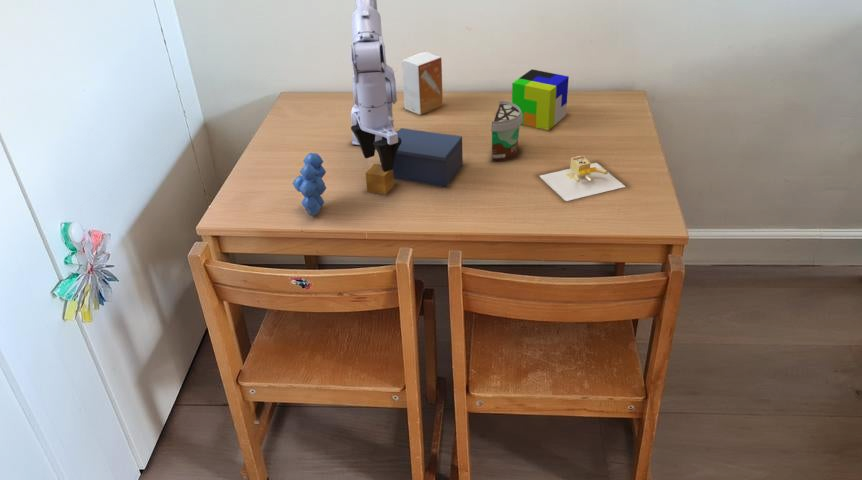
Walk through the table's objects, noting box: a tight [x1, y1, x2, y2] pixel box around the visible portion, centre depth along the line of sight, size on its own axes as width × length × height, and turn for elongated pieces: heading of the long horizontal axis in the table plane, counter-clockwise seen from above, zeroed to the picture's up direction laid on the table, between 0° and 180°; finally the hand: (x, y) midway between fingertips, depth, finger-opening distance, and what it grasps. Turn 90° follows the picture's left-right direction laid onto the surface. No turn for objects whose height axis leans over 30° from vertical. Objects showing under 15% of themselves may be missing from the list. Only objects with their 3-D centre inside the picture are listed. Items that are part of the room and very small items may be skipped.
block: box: [365, 163, 395, 196], centre depth 162 cm, size 4×4×5 cm
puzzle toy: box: [511, 69, 569, 131], centre depth 187 cm, size 10×10×10 cm
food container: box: [490, 100, 523, 162], centre depth 172 cm, size 12×6×10 cm, turn 169°
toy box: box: [393, 140, 464, 188], centre depth 168 cm, size 10×15×6 cm
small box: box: [401, 51, 444, 116], centre depth 193 cm, size 8×6×13 cm
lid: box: [396, 127, 463, 161], centre depth 165 cm, size 11×15×1 cm
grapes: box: [291, 152, 327, 217], centre depth 154 cm, size 12×7×12 cm, turn 174°
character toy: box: [568, 154, 609, 183], centre depth 163 cm, size 8×3×8 cm
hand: (378, 163), depth 160 cm, fingers open, 7 cm apart
